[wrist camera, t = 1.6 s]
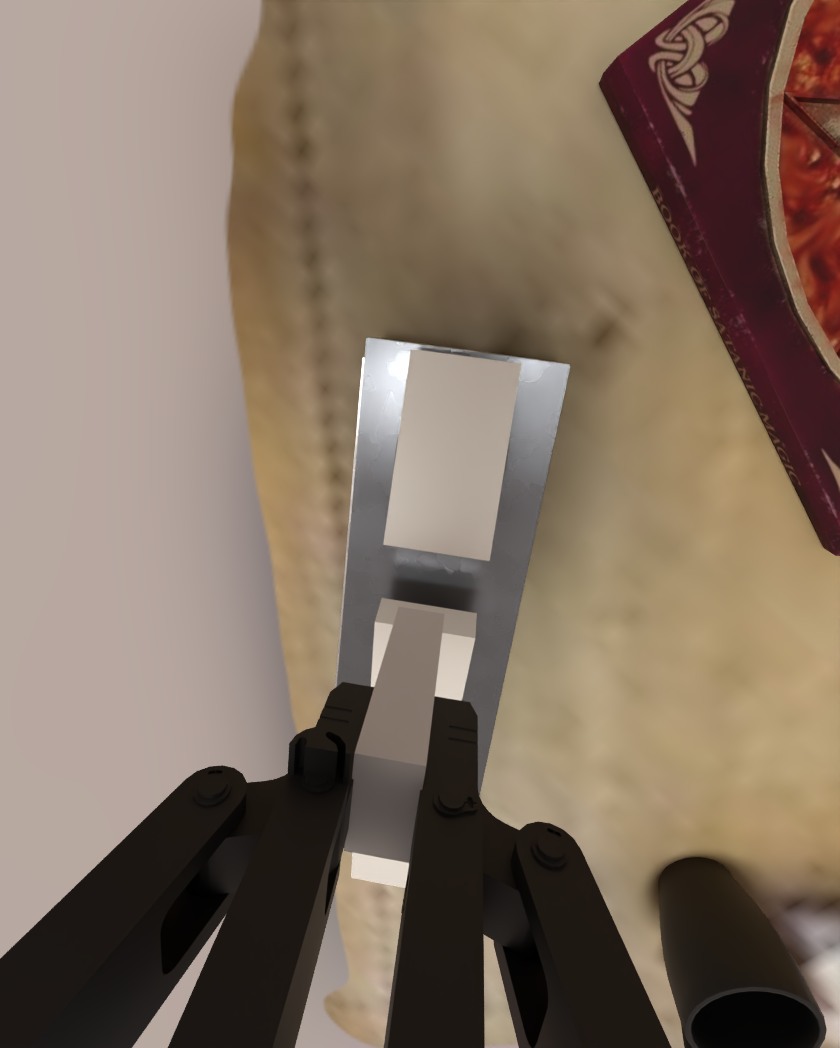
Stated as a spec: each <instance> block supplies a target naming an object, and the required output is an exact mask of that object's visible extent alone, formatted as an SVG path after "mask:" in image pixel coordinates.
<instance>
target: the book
mask: <svg viewBox="0 0 840 1048" xmlns="http://www.w3.org/2000/svg"><path fill="white" fill-rule="evenodd" d="M599 85H600V87H601V89H602V91H603V93H604V95H605V97H606V99H607V101H608V103H609V105H610V107H611V109H612V111H613V113H614V116H615V118H616V120H617V122H618V124H619V126H620V128H621V130H622V132H623V134H624V136H625V138H626V140H627V142H628V144H629V146H630V149H631V151H632V153H633V155H634V157H635V159H636V161H637V163H638V165H639V167H640V169H641V171H642V173H643V175H644V177H645V179H646V181H647V184H648V186H649V188H650V190H651V192H652V194H653V196H654V198H655V200H656V202H657V204H658V206H659V208H660V210H661V212H662V214H663V217H664V219H665V221H666V223H667V225H668V227H669V229H670V231H671V233H672V235H673V237H674V239H675V241H676V243H677V245H678V247H679V250H680V252H681V254H682V256H683V258H684V260H685V262H686V264H687V266H688V268H689V270H690V272H691V274H692V276H693V278H694V280H695V283H696V285H697V287H698V289H699V291H700V293H701V295H702V297H703V299H704V301H705V303H706V305H707V307H708V309H709V311H710V313H711V316H712V318H713V320H714V322H715V324H716V326H717V328H718V330H719V332H720V334H721V336H722V338H723V340H724V342H725V344H726V346H727V348H728V351H729V353H730V355H731V357H732V359H733V361H734V363H735V365H736V367H737V369H738V371H739V373H740V375H741V377H742V379H743V381H744V384H745V386H746V388H747V390H748V392H749V394H750V396H751V398H752V400H753V402H754V404H755V406H756V408H757V410H758V412H759V414H760V417H761V419H762V421H763V423H764V425H765V427H766V429H767V431H768V433H769V435H770V437H771V439H772V441H773V443H774V445H775V447H776V450H777V452H778V454H779V456H780V458H781V460H782V462H783V464H784V466H785V468H786V470H787V472H788V474H789V476H790V478H791V480H792V483H793V485H794V487H795V489H796V491H797V493H798V495H799V497H800V499H801V501H802V503H803V505H804V507H805V509H806V511H807V513H808V515H809V518H810V520H811V522H812V524H813V526H814V528H815V530H816V532H817V534H818V536H819V538H820V540H821V542H822V544H823V546H824V548H825V549H826V550H828V551H829V552H831V553H832V554H834V555H835V556H840V0H688V1H687V2H686V3H684V4H683V5H682V6H681V7H679V8H678V9H677V10H676V11H674V12H673V13H672V14H671V15H669V16H668V17H667V18H665V19H664V20H663V21H662V22H660V23H659V24H658V25H657V26H655V27H654V28H653V29H652V30H650V31H649V32H648V33H647V34H645V35H644V36H643V37H642V38H640V39H639V40H638V41H636V42H635V43H634V44H633V45H631V46H630V47H629V48H628V49H626V50H625V51H624V52H623V53H621V54H620V55H619V56H618V57H617V58H616V59H615V60H614V61H613V63H612V64H611V65H610V66H609V67H608V68H607V70H606V71H605V72H604V73H603V75H602V78H601V80H600V82H599Z"/></svg>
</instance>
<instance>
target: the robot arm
mask: <svg viewBox="0 0 840 1048" xmlns="http://www.w3.org/2000/svg"><path fill="white" fill-rule="evenodd" d="M443 622H444V614H442V613H436V612H430V611H424V610H418V609H412V608H405V607H398V610H397V614H396V617H395V620H394V624H393V627H392V630H391V634H390V637H389V640H388V644H387V647H386V650H385V654H384V657H383V660H382V663H381V667H380V670H379V673H378V677H377V680H376V683H375V687H370V686H364V685H358V684H353V683H347V682H342V683H341V684H339V685H338V686H337V687H336V688H335V689H333V690H332V691H331V692H330V694H329V696H328V699H327V701H326V703H325V707H324V708H323V710H322V713H321V715H320V719H319V720H318V722H317V725H316V727H314V728H310V729H306V730H304V731H302V732H301V733H299V734H297V735H296V736H295V737H294V738H293V740H292V741H291V742H290V744H289V761H288V774H286V775H285V776H282V777H280V778H277V779H274V780H269V781H262V782H251V783H247V782H246V780H245V778H244V776H243V774H242V773H240V772H239V771H237V770H236V769H235V768H231V767H227V766H213V767H208V768H205V769H202V770H200V771H197V772H195V773H194V774H193V775H191V776H190V777H188V778H187V779H186V780H185V781H184V782H183V783H182V784H181V785H180V786H179V787H177V788H176V789H175V790H174V791H173V792H172V793H171V794H170V795H169V796H168V797H167V798H166V799H165V800H164V801H163V802H162V803H161V804H160V805H159V806H158V807H157V808H156V809H155V810H154V811H153V812H152V813H151V814H150V815H149V816H148V817H147V818H145V819H144V820H143V821H142V822H141V823H140V824H139V825H138V826H137V827H136V828H135V829H134V830H133V831H132V832H131V833H130V834H129V835H128V836H127V837H126V838H125V839H124V840H123V841H122V842H121V843H120V844H119V845H117V846H116V847H115V848H114V849H113V850H112V851H111V852H110V853H109V854H108V855H107V856H106V857H105V858H104V859H103V860H102V861H101V862H100V863H99V864H98V865H97V866H96V867H95V868H94V869H93V870H92V871H91V872H90V873H89V874H87V876H85V877H84V878H83V879H82V880H81V881H80V882H79V883H78V884H77V885H76V886H75V887H74V888H73V889H72V890H71V891H70V892H69V893H68V894H67V895H66V896H65V897H64V898H63V899H62V900H61V901H60V902H59V903H57V904H56V905H55V906H54V907H53V908H52V909H51V910H50V911H49V912H48V913H47V914H46V915H45V916H44V917H43V918H42V919H41V920H40V921H39V922H38V923H37V924H36V925H35V926H34V927H33V928H32V929H31V930H30V931H29V932H28V933H26V934H25V935H24V936H23V937H22V938H21V939H20V940H19V941H18V942H17V943H16V944H15V945H14V946H13V947H12V948H11V949H10V950H9V951H8V952H7V953H6V954H5V955H4V956H3V957H2V958H1V959H0V1048H132V1047H133V1045H134V1044H135V1043H136V1041H137V1039H138V1038H139V1037H140V1035H141V1034H142V1033H143V1031H144V1030H145V1028H146V1027H147V1026H148V1024H149V1023H150V1021H151V1020H152V1018H153V1017H154V1016H155V1014H156V1013H157V1011H158V1010H159V1009H160V1007H161V1005H162V1004H163V1003H164V1001H165V1000H166V999H167V997H168V996H169V994H170V993H171V991H172V990H173V989H174V987H175V986H176V984H177V983H178V982H179V980H180V979H181V977H182V976H183V975H184V973H185V972H186V970H187V969H188V967H189V966H190V965H191V963H192V962H193V960H194V959H195V957H196V956H197V955H198V953H199V952H200V950H201V949H202V947H203V946H204V945H205V943H206V942H207V941H208V939H209V938H210V936H211V935H212V933H213V932H214V931H215V929H216V928H217V926H218V925H219V924H220V922H221V921H222V919H223V918H224V916H225V915H226V917H225V919H224V921H223V923H222V925H221V928H220V930H219V932H218V935H217V937H216V939H215V941H214V944H213V946H212V948H211V951H210V953H209V955H208V957H207V960H206V962H205V964H204V967H203V969H202V971H201V973H200V976H199V978H198V980H197V982H196V985H195V987H194V989H193V991H192V994H191V996H190V998H189V1001H188V1003H187V1005H186V1007H185V1010H184V1012H183V1014H182V1017H181V1019H180V1021H179V1023H178V1026H177V1028H176V1030H175V1032H174V1035H173V1037H172V1039H171V1042H170V1044H169V1046H168V1048H295V1044H296V1040H297V1036H298V1032H299V1029H300V1025H301V1021H302V1017H303V1013H304V1009H305V1005H306V1001H307V998H308V994H309V990H310V986H311V982H312V978H313V974H314V970H315V966H316V963H317V959H318V955H319V951H320V947H321V943H322V939H323V935H324V932H325V928H326V924H327V920H328V916H329V912H330V908H331V904H332V901H333V897H334V893H335V889H336V885H337V881H338V877H339V871H340V861H341V855H342V852H343V848H344V851H348V852H353V853H358V854H364V855H369V856H374V857H379V858H385V859H390V860H395V861H401V862H406V863H409V868H408V874H407V881H406V887H405V893H404V899H403V905H402V911H401V913H402V916H401V924H400V931H399V939H398V946H397V954H396V961H395V968H394V976H393V983H392V991H391V998H390V1006H389V1013H388V1020H387V1028H386V1035H385V1043H384V1048H484V943H483V934H484V935H486V936H488V937H489V938H491V939H493V940H494V947H495V951H496V956H497V960H498V964H499V968H500V972H501V976H502V980H503V984H504V988H505V992H506V996H507V1001H508V1005H509V1009H510V1013H511V1017H512V1021H513V1025H514V1029H515V1033H516V1037H517V1041H518V1046H519V1048H671V1046H670V1043H669V1041H668V1039H667V1037H666V1035H665V1032H664V1030H663V1028H662V1026H661V1024H660V1021H659V1019H658V1017H657V1015H656V1013H655V1011H654V1008H653V1006H652V1004H651V1002H650V1000H649V997H648V995H647V993H646V991H645V989H644V986H643V984H642V982H641V980H640V978H639V976H638V973H637V971H636V969H635V967H634V965H633V962H632V960H631V958H630V956H629V954H628V951H627V949H626V947H625V945H624V943H623V941H622V938H621V936H620V934H619V932H618V930H617V927H616V925H615V923H614V921H613V919H612V916H611V914H610V912H609V910H608V908H607V905H606V903H605V901H604V899H603V897H602V895H601V892H600V890H599V888H598V886H597V884H596V881H595V879H594V877H593V875H592V873H591V870H590V868H589V866H588V864H587V862H586V860H585V857H584V855H583V853H582V851H581V849H580V848H579V846H578V845H577V843H576V841H575V840H574V839H573V838H572V837H571V836H570V835H569V834H568V833H566V832H565V831H564V830H563V829H561V828H559V827H557V826H554V825H552V824H550V823H543V822H534V823H530V824H527V825H525V826H524V827H523V828H522V829H521V830H517V829H515V828H513V827H511V826H509V825H507V824H505V823H503V822H502V821H500V820H498V819H497V818H495V817H494V816H493V815H492V814H491V813H490V812H488V810H487V809H486V808H485V806H484V805H483V804H482V801H481V799H480V797H479V792H478V716H477V714H476V712H475V710H474V708H473V707H472V705H471V703H470V702H466V701H460V700H454V699H448V698H442V697H436V696H435V689H436V681H437V672H438V664H439V656H440V647H441V639H442V631H443ZM344 844H345V847H344Z"/></svg>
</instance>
